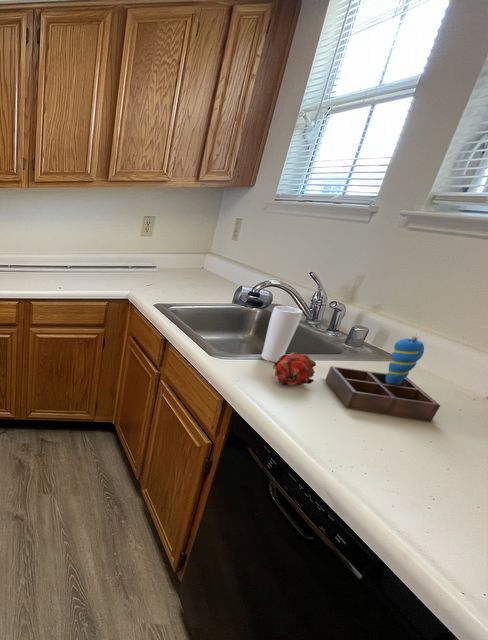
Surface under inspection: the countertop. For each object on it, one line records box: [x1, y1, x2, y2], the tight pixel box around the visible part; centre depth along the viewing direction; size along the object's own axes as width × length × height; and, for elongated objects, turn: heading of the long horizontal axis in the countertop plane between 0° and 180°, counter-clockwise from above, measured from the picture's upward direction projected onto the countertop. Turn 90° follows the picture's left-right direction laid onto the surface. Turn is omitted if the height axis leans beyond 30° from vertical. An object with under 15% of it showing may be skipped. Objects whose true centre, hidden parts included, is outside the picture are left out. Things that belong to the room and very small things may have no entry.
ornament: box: [386, 333, 425, 386], centre depth 98 cm, size 5×5×15 cm
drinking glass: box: [260, 305, 303, 363], centre depth 117 cm, size 7×7×15 cm
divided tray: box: [324, 365, 441, 422], centre depth 99 cm, size 15×15×4 cm
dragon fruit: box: [272, 351, 317, 387], centre depth 105 cm, size 8×8×12 cm
